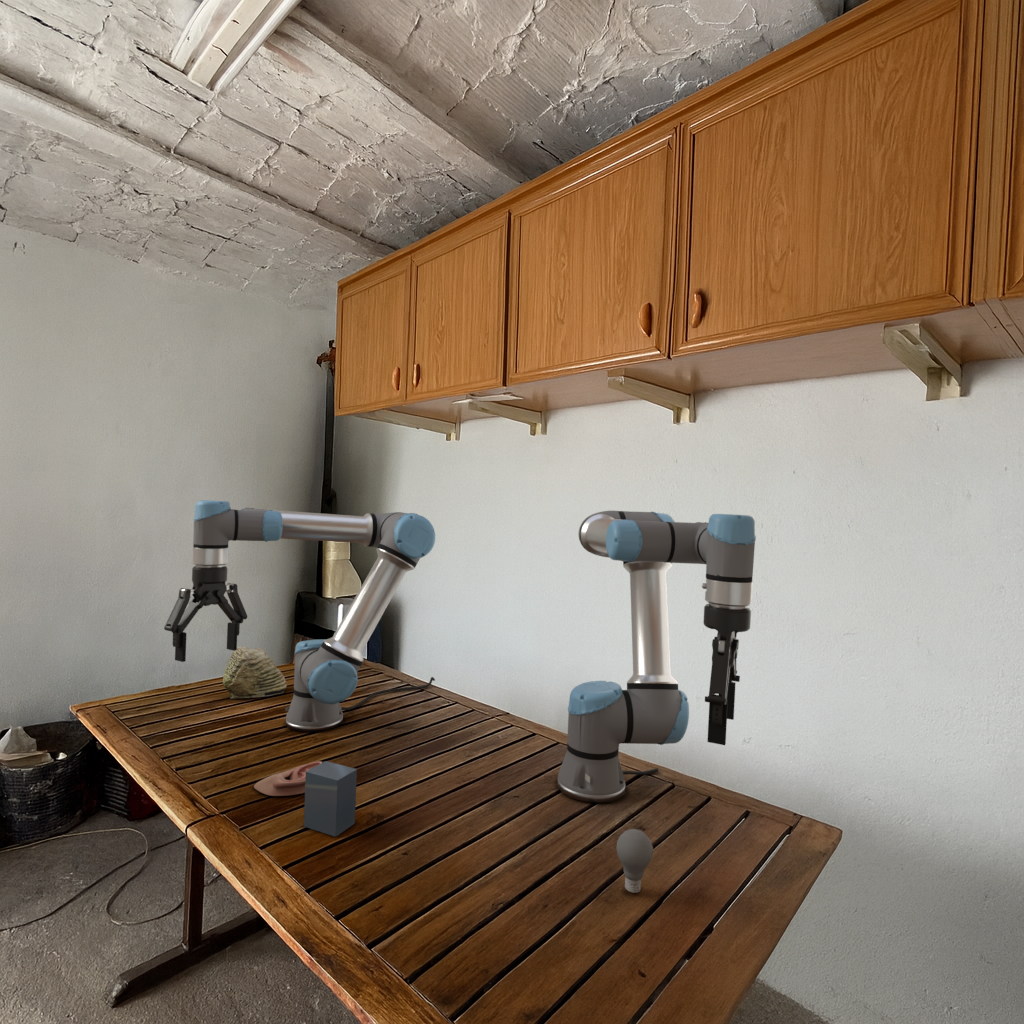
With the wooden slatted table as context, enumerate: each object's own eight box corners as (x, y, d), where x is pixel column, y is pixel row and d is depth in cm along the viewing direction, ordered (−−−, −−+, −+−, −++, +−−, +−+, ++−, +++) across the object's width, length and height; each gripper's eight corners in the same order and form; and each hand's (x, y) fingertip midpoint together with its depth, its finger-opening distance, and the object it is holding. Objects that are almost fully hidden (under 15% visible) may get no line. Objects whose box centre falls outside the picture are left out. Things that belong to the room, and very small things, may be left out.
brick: (323, 813, 127) (325, 760, 127) (355, 823, 124) (357, 769, 123) (303, 826, 122) (305, 771, 121) (335, 837, 118) (337, 780, 118)
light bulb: (610, 879, 108) (613, 822, 108) (644, 879, 109) (647, 822, 109) (619, 902, 102) (622, 840, 102) (655, 901, 103) (658, 840, 103)
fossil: (218, 695, 195) (220, 647, 195) (278, 685, 208) (279, 640, 207) (228, 703, 189) (230, 653, 188) (289, 692, 201) (290, 645, 201)
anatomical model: (246, 773, 134) (276, 753, 145) (245, 792, 134) (276, 770, 145) (303, 782, 131) (330, 760, 142) (302, 801, 131) (329, 777, 142)
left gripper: (243, 560, 162) (240, 643, 163) (149, 568, 140) (145, 663, 141) (264, 563, 159) (261, 647, 159) (170, 571, 137) (166, 668, 137)
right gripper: (713, 594, 120) (708, 705, 120) (693, 613, 97) (686, 750, 98) (755, 598, 117) (750, 712, 117) (745, 619, 94) (738, 760, 95)
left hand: (206, 655), depth 150 cm, fingers open, 13 cm apart
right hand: (721, 729), depth 107 cm, fingers open, 13 cm apart
